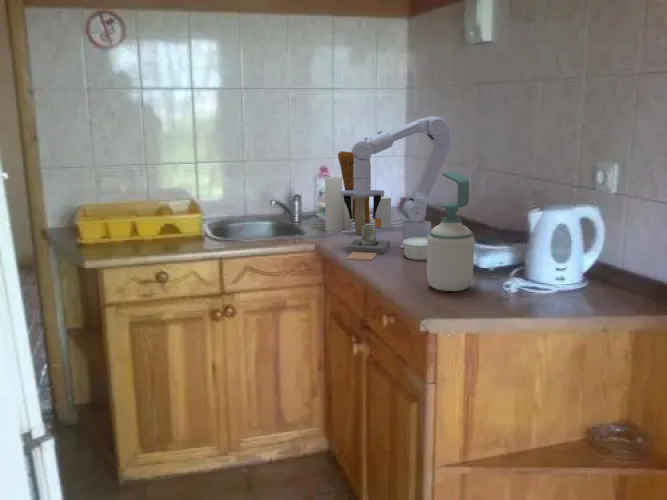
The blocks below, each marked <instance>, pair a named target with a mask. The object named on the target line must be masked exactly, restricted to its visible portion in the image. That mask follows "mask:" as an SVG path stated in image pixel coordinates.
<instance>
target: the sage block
mask: <svg viewBox="0 0 667 500" xmlns="http://www.w3.org/2000/svg"><path fill="white" fill-rule="evenodd" d="M361 239H362V245H364V246H376V240H377V227H376V225H375V224H365V225H363V226H362V235H361Z"/></svg>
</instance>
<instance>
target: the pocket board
mask: <svg viewBox="0 0 667 500" xmlns="http://www.w3.org/2000/svg"><path fill="white" fill-rule="evenodd" d="M390 242H391V241H390V240H387V239H386V240H383V239H382V240H381V239H376V246H364V245H362V238H361V239H360V238H358V239H357V238H355V239H353V241H352V242H350V244H349V245H347V247H346V250H347V251H346V253H347V254H351V253H352V252H364V253H377V255H384V254H385V253H386V252H387V250H388V249H389V247H390Z"/></svg>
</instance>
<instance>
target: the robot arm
mask: <svg viewBox="0 0 667 500" xmlns="http://www.w3.org/2000/svg"><path fill="white" fill-rule="evenodd" d="M450 130H451V128H450V126H449V124H448V122H447V120H446V119H445V118H443V117H442V116H436V115H428V116H426V117H422V118H418V119H416V120H414V121H412V122H409V123H407V124H406V125H402V126H401V127H399V128H397V129H395V130H393V131H391V132H389V131H387V130H378V131H377V132H376V134H374V135H372V136H369V137H367V136H366V137H364V138H363V140H357V141H355V143H353V145H352V148H351V152H352V153H353V155H354V164H353V178H354V190H348V191H345V190H342V191H340V197H344V202H345V204H346V206H347V209H348V212H349V216H350V219H352V209H351V197H369V198H370V197H371V198H373V200H372V201H373V203H372V205H373V206H372V207H373V210H372V219H373V220H375V214H376V210H377V207H378V205H379V202H380V200H381V197H384V196H385V190H384V189H383V190H376V189H371V188H372V180H371V179H372V178H371V177H372V175H371V174H372V173H371V171H372V170H371V169H372V164H371V157H372V155H375V154H378V153H380V152H383V151H385V150H387V149H390V148H392V147H393V145H394V142H396V141H399V140H402V139H404V138H406V137H409V136H411V135H412V136H413V135H415V134H425V135H427V137H428V138H429V140H430V142H431V144H432V146H433V147H432V150H431V153H430V155H429V156H428V160H427V162H426V164H425V166H424V168H423V170H422V172H421V174H420V177H419V179H418V182H417V184H416V186H415V188H414V190H413V191H412V192H411V193H410V195H409V198H408V199H406V200H405V201H404V203H403V204H402V209H401V211H402V212H403V214H404V217H403V219H402V220H403V221H402V223H403V225H402V244H401V245H400V246H399V247H400V249H404V245H403V241H404V240H405V239H408V238H415V237H420V238H428V235H429V231H431V230H432V222H431V221H429V220H428V221H427V220H425V218H426V216H427V207H428V204H429V195H430V193H431V191H432V190H433V188H434V184H435V183H436V181H437V179H438V176H439V174H440V172H441V169H442V167H443V165H444V163H445V161H446V158H447V156H448V155H449V152H450V149H451V138H450Z"/></svg>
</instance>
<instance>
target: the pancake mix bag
mask: <svg viewBox="0 0 667 500" xmlns="http://www.w3.org/2000/svg"><path fill="white" fill-rule="evenodd" d="M337 158H338V162H339V163H338V164H339V166H340V171H341V177H342V183H343V188H344V191H348V190H354V178H353V164H354V155H353V153H352V151H339V152H338V153H337ZM364 205H365V222H370V223H371V217H370V214H371V213H370V197H367V198H366V199H365V201H364ZM352 219H354V220H355V199H353V198H352Z"/></svg>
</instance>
